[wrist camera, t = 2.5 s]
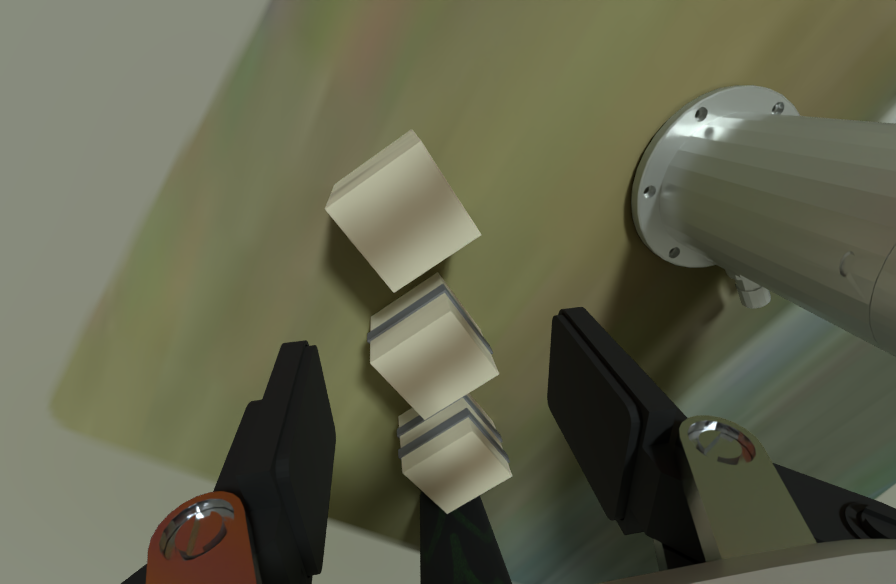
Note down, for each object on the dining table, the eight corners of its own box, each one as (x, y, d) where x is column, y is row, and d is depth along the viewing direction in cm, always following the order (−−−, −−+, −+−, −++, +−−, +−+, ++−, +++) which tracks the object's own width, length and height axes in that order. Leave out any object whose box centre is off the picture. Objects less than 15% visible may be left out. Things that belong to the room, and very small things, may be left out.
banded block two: (495, 421, 38) (514, 476, 33) (436, 456, 39) (446, 515, 34) (458, 376, 36) (472, 428, 30) (395, 415, 36) (399, 472, 31)
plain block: (462, 206, 29) (481, 234, 24) (390, 255, 30) (393, 292, 25) (411, 128, 27) (421, 140, 21) (334, 184, 28) (324, 209, 22)
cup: (503, 482, 42) (547, 618, 31) (456, 530, 44) (483, 674, 33) (439, 455, 39) (464, 595, 28) (393, 508, 41) (399, 657, 30)
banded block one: (482, 328, 34) (502, 374, 29) (416, 370, 35) (424, 422, 29) (438, 268, 31) (451, 307, 26) (367, 315, 32) (366, 362, 27)
